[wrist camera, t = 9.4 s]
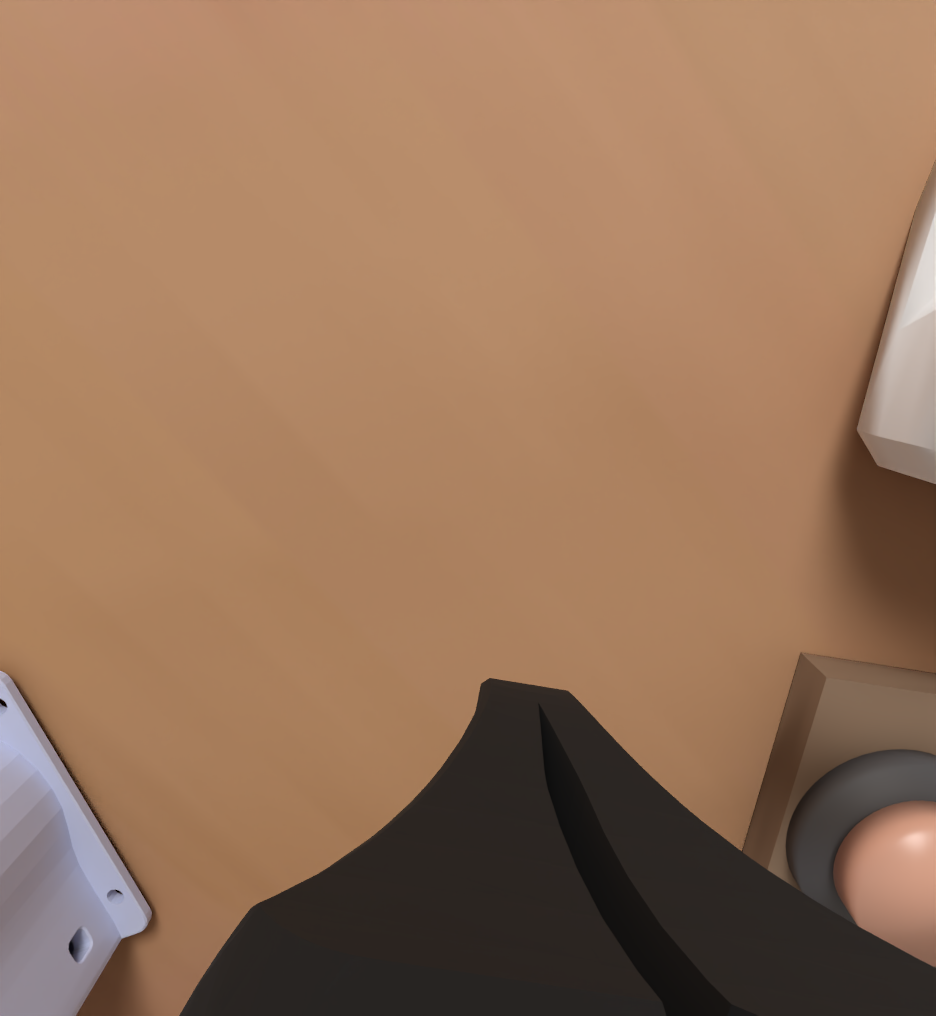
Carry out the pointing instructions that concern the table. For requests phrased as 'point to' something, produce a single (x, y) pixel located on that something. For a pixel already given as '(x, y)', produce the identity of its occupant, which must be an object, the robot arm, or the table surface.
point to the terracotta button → (893, 876)
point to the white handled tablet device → (908, 358)
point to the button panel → (841, 765)
